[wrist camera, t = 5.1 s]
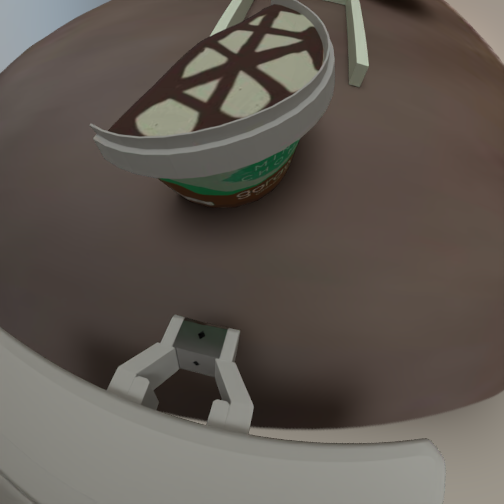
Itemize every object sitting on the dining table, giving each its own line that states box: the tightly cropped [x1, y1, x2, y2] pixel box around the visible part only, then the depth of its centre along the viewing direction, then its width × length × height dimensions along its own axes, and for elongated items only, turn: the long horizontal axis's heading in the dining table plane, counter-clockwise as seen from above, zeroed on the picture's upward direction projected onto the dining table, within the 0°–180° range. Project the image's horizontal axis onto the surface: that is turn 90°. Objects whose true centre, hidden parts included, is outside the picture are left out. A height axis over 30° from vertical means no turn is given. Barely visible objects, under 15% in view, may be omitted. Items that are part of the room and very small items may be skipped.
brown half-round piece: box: [90, 0, 335, 208], centre depth 13 cm, size 12×6×10 cm, turn 142°
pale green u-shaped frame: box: [210, 0, 369, 87], centre depth 19 cm, size 13×18×3 cm
